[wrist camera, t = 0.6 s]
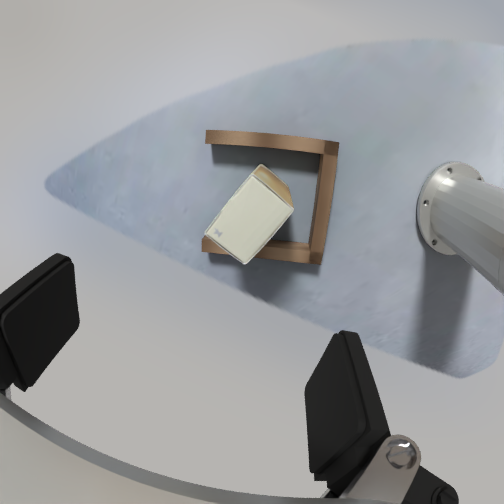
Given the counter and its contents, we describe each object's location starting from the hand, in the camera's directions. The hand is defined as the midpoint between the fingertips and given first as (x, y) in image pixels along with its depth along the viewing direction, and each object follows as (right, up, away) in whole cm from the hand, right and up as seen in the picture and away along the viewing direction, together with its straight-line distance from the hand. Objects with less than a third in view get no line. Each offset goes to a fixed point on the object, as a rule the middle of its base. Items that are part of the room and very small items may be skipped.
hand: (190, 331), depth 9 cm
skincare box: (+3, +9, +24) cm, 26 cm away
